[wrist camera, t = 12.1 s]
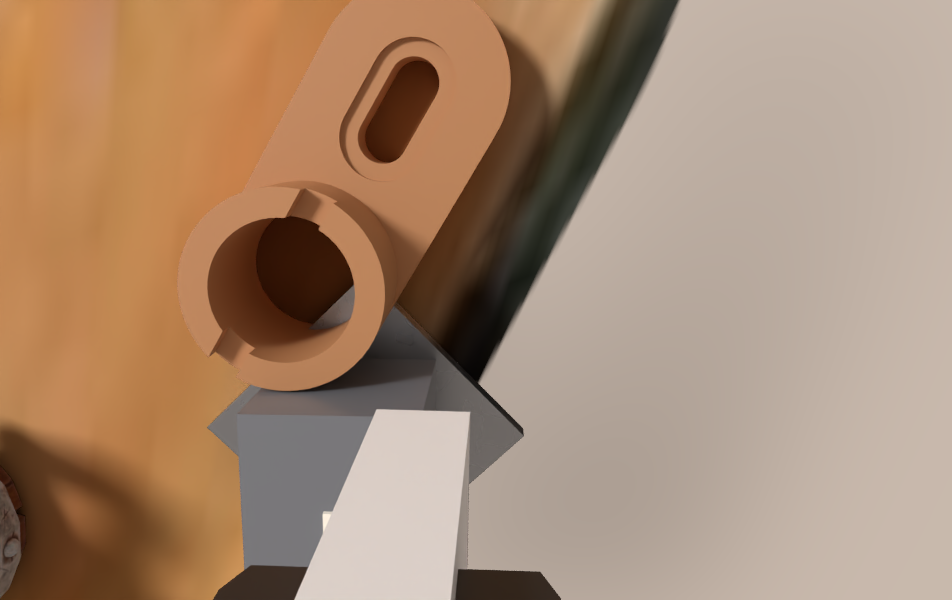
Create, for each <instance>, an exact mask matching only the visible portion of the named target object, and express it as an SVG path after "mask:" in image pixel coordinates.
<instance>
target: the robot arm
mask: <svg viewBox="0 0 952 600" xmlns="http://www.w3.org/2000/svg"><path fill="white" fill-rule="evenodd" d="M469 446H470V412H455V411H420V410H386V409H376V412H375V414H374V416H373V419H372V421H371V423H370V426H369V428H368V430H367V433H366V435H365V437H364V440H363V442H362V444H361V447H360V449H359V451H358V453H357V456H356V458H355V460H354V463H353V465H352V467H351V470H350V472H349V474H348V477H347V479H346V481H345V484H344V486H343V488H342V491H341V493H340V495H339V497H338V500H337V502H336V504H335V507H334V509H333V511H332V514H331V516H330V518H329V521H328V523H327V525H326V528H325V530H324V532H323V535H322V537H321V539H320V542H319V544H318V546H317V548H316V551H315V553H314V555H313V558H312V560H311V562H310V565H309V567H295V566H266V565H250V566H249V567H248V568H247V569H245V570H244V571H243V572H241V573H240V574H239V575H237V576H236V577H235V578H234V579H232V580H231V581H230V582H228V583H227V584H226V585H224V586H223V587H222V588H221V589H219V591H218V592H217V594H216V596H215V597H214V599H213V600H561V598H560V597H559V596H558V594H557V593H556V592H555V590H554V589H553V588H552V587H551V585H550V584H549V583H548V581H547V580H546V579H545V577H544V576H543V575H542V574H541V572H530V571H500V570H472V569H467V557H468V502H469V501H468V499H469Z"/></svg>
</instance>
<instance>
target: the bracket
mask: <svg viewBox="0 0 952 600" xmlns="http://www.w3.org/2000/svg"><path fill="white" fill-rule="evenodd" d="M413 61H424V62H427V63H429V64H431V65H432V66H434V67H435V69H436V71H437V73H438V76H439V90H438V93H437V95H436V97H435V99H434V100H433V102H432V104H431V106H430V107H429V109H428V111H427V113H426V114H425V116H424V118H423V120H422V121H421V123H420V125H419V126H418V128H417V130H416V132H415V133H414V135H413V137H412V139H411V140H410V142H409V144H408V146H407V147H406V149H405V151H404V153H403V154H402V155H401V156H400V157H399V158H398V159H397V160H396V161H394V162H383V161H380V160H378V159H376V158H375V157H374V156H373V155H372V154H371V153H370V152H369V150H368V148H367V145H366V141H365V135H366V130H367V128H368V126H369V124H370V122H371V120H372V119H373V117H374V115H375V113H376V111H377V110H378V108H379V106H380V104H381V102H382V101H383V99H384V97H385V95H386V93H387V92H388V90H389V88H390V86H391V84H392V83H393V81H394V79H395V77H396V76H397V74H398V72H399V70H400V69H401V68H402V67H403V66H404V65H406V64H407V63H410V62H413ZM510 86H511V77H510V66H509V60H508V56H507V52H506V48H505V46H504V43H503V40H502V38H501V36H500V34H499V32H498V30H497V28H496V27H495V25H494V24H493V22H492V20H491V19H490V18H489V17H488V15H487V14H486V13H485V12H484V11H483V10H482V9H481V8H480V7H479V6H478V5H477V4H476V3H475V2H474V1H473V0H352V1H351V2H350V3H349V4H348V5H347V6H346V7H345V8H344V9H343V10H342V11H341V12H340V13H339V15H338V16H337V17H336V19H335V20H334V22H333V23H332V25H331V27H330V28H329V30H328V32H327V34H326V35H325V37H324V39H323V41H322V43H321V45H320V47H319V49H318V51H317V52H316V54H315V56H314V58H313V60H312V62H311V64H310V66H309V67H308V69H307V71H306V73H305V75H304V77H303V79H302V81H301V82H300V84H299V86H298V88H297V90H296V92H295V94H294V96H293V97H292V99H291V101H290V103H289V105H288V107H287V109H286V111H285V113H284V114H283V116H282V118H281V120H280V122H279V124H278V126H277V128H276V129H275V131H274V133H273V135H272V137H271V139H270V141H269V143H268V144H267V146H266V148H265V150H264V152H263V154H262V156H261V158H260V159H259V161H258V163H257V165H256V167H255V169H254V171H253V173H252V174H251V176H250V178H249V180H248V182H247V184H246V186H245V188H244V190H243V191H242V192H241V193H239V194H236V195H234V196H231V197H230V198H228V199H226V200H224V201H222V202H221V203H219V204H218V205H216V206H215V207H214V208H212V209H211V210H210V211H209V212H208V213H207V214H206V215H205V216H204V217H203V218H202V219H201V220H200V221H199V222H198V224H197V225H196V226H195V228H194V229H193V231H192V232H191V234H190V236H189V238H188V240H187V242H186V244H185V246H184V249H183V251H182V255H181V259H180V262H179V268H178V280H177V287H178V298H179V303H180V308H181V311H182V315H183V318H184V320H185V323H186V325H187V327H188V329H189V331H190V333H191V335H192V337H193V338H194V340H195V341H196V343H197V344H198V346H199V347H200V348H201V350H202V351H203V352H204V353H205V354H206V355H207V356H208V357H209V356H211V355H212V354H213V353H214V352H216V353H217V354H218V355H220V356H221V357H222V358H223V359H224V360H225V361H227V362H228V363H229V364H231V365H232V366H234V367H236V368H238V369H239V372H238V374H237V376H236V378H238V379H240V380H242V381H243V382H246V383H248V384H251V385H254V386H257V387H261V388H265V389H271V390H279V391H296V390H304V389H309V388H313V387H317V386H320V385H323V384H325V383H328V382H330V381H332V380H334V379H336V378H338V377H339V376H341V375H342V374H344V373H345V372H347V371H348V370H349V369H350V368H352V367H353V366H354V365H355V364H356V363H357V362H358V361H359V360H360V359H361V358H362V357H363V355H364V354H365V353H366V351H367V350H368V349H369V347H370V346H371V344H372V342H373V341H374V339H375V337H376V335H377V334H378V332H379V330H380V328H381V327H382V325H383V323H384V321H385V320H386V318H387V316H388V315H389V313H390V311H391V310H392V308H393V306H394V305H395V303H396V301H397V300H398V298H399V296H400V294H401V293H402V291H403V289H404V288H405V286H406V284H407V283H408V281H409V279H410V278H411V276H412V274H413V273H414V271H415V269H416V268H417V266H418V264H419V263H420V261H421V259H422V258H423V256H424V254H425V253H426V251H427V249H428V248H429V246H430V244H431V242H432V241H433V239H434V237H435V236H436V234H437V232H438V231H439V229H440V227H441V226H442V224H443V222H444V221H445V219H446V217H447V216H448V214H449V212H450V211H451V209H452V207H453V206H454V204H455V202H456V201H457V199H458V197H459V195H460V194H461V192H462V190H463V189H464V187H465V185H466V184H467V182H468V180H469V179H470V177H471V175H472V174H473V172H474V170H475V169H476V167H477V165H478V164H479V162H480V160H481V159H482V157H483V155H484V154H485V152H486V150H487V148H488V147H489V145H490V143H491V142H492V140H493V138H494V137H495V135H496V133H497V131H498V130H499V128H500V126H501V124H502V121H503V119H504V116H505V114H506V110H507V106H508V102H509V96H510ZM289 216H294V217H300V218H303V219H307V220H309V221H312V222H314V223H316V224H318V225H320V228H319V231H321V232H322V233H324V234H325V235H326V236H327V237H329V238H330V239H331V240H332V241H333V242H334V243H335V244H336V246H337V247H338V248H339V249H340V251H341V252H342V254H343V255H344V257H345V259H346V261H347V263H348V265H349V267H350V270H351V272H352V276H353V280H354V287H355V301H354V308H353V313H352V316H351V318H350V319H349V320H347V321H346V322H344V323H342V324H340V325H337V326H335V327H331V328H327V329H317V330H313V329H309V328H310V327H311V326H312V325H313V324H311V323H306V322H302V321H299V320H296V319H294V318H292V317H290V316H288V315H286V314H285V313H283V312H282V311H281V310H280V309H278V308H277V307H276V306H275V305H274V304H273V303H272V302H271V300H270V299H269V298H268V297H267V295H266V294H265V292H264V290H263V288H262V286H261V283H260V281H259V278H258V274H257V268H256V254H257V248H258V244H259V241H260V239H261V236H262V234H263V233H264V231H265V229H266V228H267V226H268V225H269V224H270V223H271V222H272V220H273V219H275V218H286V217H289Z"/></svg>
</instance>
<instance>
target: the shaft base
mask: <svg viewBox="0 0 952 600" xmlns="http://www.w3.org/2000/svg"><path fill="white" fill-rule="evenodd" d="M354 301H355V287H354V285H353V286H352V287H351V288H350V289H349V290H348V291H347V292H346V293H345V294H344V295H343V296H342V297H341V298H340V299H339V300H337V301H336V302H335V303H334V304H333V305H332V306H331V307H330V308H329V309H328V310H327V311H326V312H325V313H324V314H323V315H322V316H321V317H320V318H319V319H318V320H317V321H316V322H315V323H314V324H313V325H312V326H311V327H310V328H309V329H313V330H317V329H327V328H331V327H335V326H337V325H340V324H342V323H344V322H346V321H347V320H349V319H350V318H351V316H352V313H353V308H354ZM362 358H364V359H425V360H436V411H455V412H470V446H469V484H470V483H471V482H472V481H473V480H474V479H475V478H477V477H478V476H479V475H480V474H481V473H482V472H484V471H485V470H486V469H487V468H488V467H489V466H490V465H491V464H493V463H494V462H495V461H496V460H497V459H498V458H499V457H500V456H502V455H503V454H504V453H505V452H506V451H507V450H508V449H510V448H511V447H512V446H513V445H514V444H515V443H516V442H518V441H519V440H520V439H521V438H522V437H523V436H524V434H523V428H522V427H521V426H520V425H519V424H518V423H517V422H516V421H515V420H514V419H513V418H512V417H511V416H510V415H509V414H508V413H507V412H506V411H505V410H504V409H503V408H502V407H501V406H500V405H499V404H498V403H497V402H496V401H495V400H494V399H493V398H492V397H491V396H490V395H489V394H488V393H487V392H486V391H485V390H484V389H483V388H482V387H481V386H480V385H479V384H478V383H477V382H476V381H475V380H474V379H473V378H472V377H471V376H470V375H469V374H468V373H467V372H466V371H465V370H464V369H463V368H462V367H461V366H460V365H459V364H458V363H457V362H456V361H455V360H454V359H453V358H452V357H451V356H450V355H449V354H448V353H447V352H446V351H445V350H444V349H443V348H442V347H441V346H440V345H439V344H438V343H437V342H436V341H435V340H434V339H433V338H432V337H431V336H430V335H429V334H428V333H427V332H426V331H425V330H424V329H423V328H422V327H421V326H420V325H419V324H418V323H417V322H416V321H415V320H414V319H413V318H412V317H411V316H410V315H409V314H408V313H407V312H406V311H405V310H404V309H403V308H402V307H401V306H400V305H399V304H398V303H397V302H396V303H395V305H394V306H393V308H392V310H391V311H390V313H389V315H388V316H387V318H386V320H385V321H384V323H383V325H382V327H381V328H380V330H379V332H378V334H377V335H376V337H375V339H374V341H373V342H372V344H371V346H370V347H369V349H368V350H367V351H366V353H365V354H364V355H363V357H362ZM260 389H261V387H257V386H254V385H250V386H249V387H248V388H247V389H246V390H245V391H244V392H243V393H242V394H241V395H240V396H239V397H238V398H236V399H235V400H234V401H233V402H232V403H231V404H230V405H229V406H228V407H227V408H226V409H225V410H224V411H223V412H222V413H221V414H220V415H219V416H218V417H217V418H216V419H215V420H214V421H213V422H212V423H211V424H210V425H209V426H208V427H207V428H208V429H209V430H211V431H212V432H213V433H214V434H215V435H216V436H217V437H218V438H219V439H220V440H221V441H222V442H224V443H225V444H226V445H227V446H228V447H229V448H230V449H231V450H232V451H233V452H234V453H235V454H237V455H238V456H239V453H238V434H237V413H238V412H239V411H240V410H241V409H242V408H243V407H244V406H245V405H246V404H247V403H248V402H249V401H250V399H251V398H252V397H253V396H254V395H255V394H256V393H257V392H258V391H259V390H260Z"/></svg>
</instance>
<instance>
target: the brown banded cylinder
mask: <svg viewBox="0 0 952 600" xmlns="http://www.w3.org/2000/svg"><path fill="white" fill-rule="evenodd" d="M21 506H22V503H21V500H20V498H19V495H18V493H17V491H16V488H15V486H14V483H13V481H12V479H11V478H10V476H9V475H8V474H7V473H6V472H5V471H4V470H3V468H2V467H1V466H0V598H1V596H2V595H3V594H4V593H5V592H6V591H7V590H8V589H9V587H10V585H11V582H12V579H13V577H14V574H15V572H16V569H17V566H18V564H19V561H20V558H21V555H22V552H23V550H24V547H25V544H26V528H25V516H24V515H20V514H16V511H17V510H18V509H19V508H20V507H21Z"/></svg>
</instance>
